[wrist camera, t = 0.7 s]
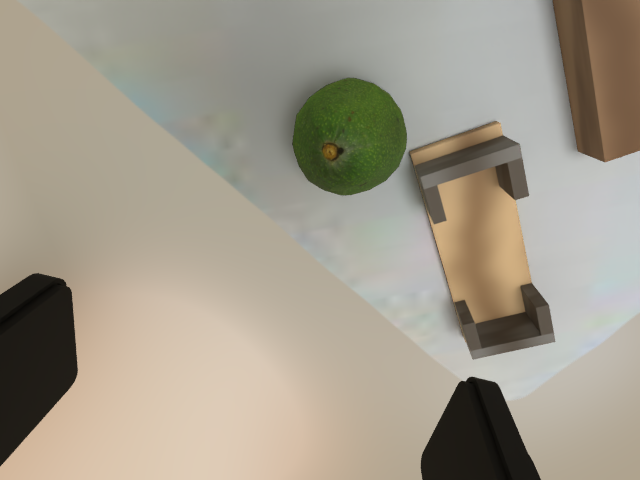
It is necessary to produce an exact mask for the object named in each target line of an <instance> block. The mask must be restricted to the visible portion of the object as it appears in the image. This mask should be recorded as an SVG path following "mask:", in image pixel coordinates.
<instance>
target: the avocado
mask: <svg viewBox="0 0 640 480" xmlns="http://www.w3.org/2000/svg"><path fill="white" fill-rule="evenodd" d="M406 143H407V133H406V127H405V123H404V119H403V115H402V112H401V110H400V108H399V107H398V106H397V104H396V103H395V101H394V100H393V98H392V97H391V96H390V94H389V93H387V92H386V91H384V90H383V89H381V88H380V87H378V86H377V85H375V84H373V83H370V82H367V81H363V80H360V79H356V78H346V79H342V80H339V81H337V82H334V83H331V84H328V85H326V86H325V87H323V88H322V89H320V90H319V91H318V92H316V93H315V94H313V95H312V96H311V97H309V99H308V100H307V102H306V103H305V104H304V106H303V107H302V108H301V110H300V111H299V113H298V114H297V116H296V122H295V128H294V136H293V143H292V145H293V148H294V153H295V156H296V159H297V162H298V165H299V167H300V168H301V170H302V172H303V173H304V175H305V176H306V178H307V179H308V181H310V182H311V183H313V184H315V185H316V186H318V187H319V188H321V189H323V190H325V191H328V192H332V193H335V194H339V195H353V194H356V193H360V192H363V191H367V190H370V189H372V188H374V187H375V186H377V185H379V184H381V183H382V182H384V181H386V180H387V179H388V178H389V177H390V175H391V174H392V173H393V172H394V171H395V170H396V169H397V168H398V167H399V164H400V162H401V159H402V157H403V154H404V152H405V149H406Z"/></svg>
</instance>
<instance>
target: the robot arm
mask: <svg viewBox="0 0 640 480" xmlns="http://www.w3.org/2000/svg"><path fill="white" fill-rule="evenodd" d="M77 371H78V368H77V355H76V343H75V330H74V316H73V303H72V292H71V289H70V288H69V287H67V286H66V282H65V281H64V280H63V279H60V278H56V277H51V276H47V275H43V274H39V273H37V274H32V275H30V276H28V277H27V278H25V279H24V280H22V281H21V282H19V283H18V284H16V285H15V286H13V287H11V288H10V289H8V290H7V291H5V292H4V293H2V294H1V295H0V466H1V465H2V464H3V463H4V462H5V461H6V459H7V458H8V457H9V456H10V455H11V454H12V453H13V452H14V450H15V449H16V448H17V447H18V446H19V445H20V444H21V442H22V441H23V440H24V439H25V438H26V437H27V436H28V435H29V434H30V432H31V431H32V430H33V429H34V428H35V427H36V426H37V425H38V423H39V422H40V421H41V420H42V419H43V417H45V415H46V414H47V413H48V412H49V411H50V410H51V409H52V408H53V407H54V405H55V404H56V403H57V402H58V401H59V400H60V399H61V397H62V396H63V395H64V394H65V393H66V392H67V391H68V390H69V388H70V387H71V386H72V384H73V383H74V381H75V379H76V376H77ZM421 473H422V479H423V480H541V479H540V477H539V474H538V472H537V470H536V467H535V465H534V463H533V461H532V459H531V458H530V456H529V455H528V453H527V450H526V448H525V446H524V443H523V441H522V439H521V436H520V435H519V432H518V429H517V427H516V425H515V422H514V420H513V418H512V415H511V413H510V411H509V408H508V406H507V404H506V401H505V399H504V397H503V394H502V392H501V390H500V387H499V386H498V384H497V383H495V382H492V381H488V380H484V379H479V378H475V377H469V378H468V379H467V380H466V382H465V381H461V382H459V384H458V386H457V387H456V389H455V391H454V393H453V395H452V397H451V399H450V401H449V403H448V405H447V407H446V409H445V411H444V413H443V415H442V417H441V419H440V420H439V422H438V424H437V426H436V428H435V430H434V432H433V434H432V436H431V438H430V440H429V442H428V444H427V446H426V448H425V450H424V452H423V454H422V458H421Z"/></svg>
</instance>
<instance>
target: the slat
mask: <svg viewBox="0 0 640 480" xmlns="http://www.w3.org/2000/svg"><path fill="white" fill-rule="evenodd" d="M553 6H554V12H555V18H556V24H557V30H558V36H559V42H560V48H561V54H562V59H563V65H564V71H565V77H566V83H567V89H568V95H569V101H570V107H571V113H572V119H573V125H574V131H575V137H576V143H577V149H578V152H581V153H583V154H586V155H588V156H591V157H593V158H596V159H598V160H600V161H603V162H607V161H610V160H613V159H616V158H619V157H622V156H625V155H628V154H631V153H634V152H637V151H640V0H553Z"/></svg>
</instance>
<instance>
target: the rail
mask: <svg viewBox="0 0 640 480" xmlns="http://www.w3.org/2000/svg"><path fill="white" fill-rule="evenodd" d="M410 155H411V158H412V162H413V165H414V169H415V172H416V176H417V179H418V182H419V186H420V189H421V193H422V196H423V200H424V203H425V206H426V210H427V213H428V217H429V220H430V224H431V227H432V230H433V234H434V237H435V241H436V244H437V248H438V251H439V254H440V258H441V261H442V265H443V268H444V272H445V275H446V279H447V282H448V285H449V289H450V292H451V296H452V299H453V303H454V306H455V309H456V313H457V316H458V320H459V323H460V327H461V330H462V333H463V337H464V339H465V342H466V343H467V345H468V348H469V351H470V353H471V356H472V359H477V358H482V357H487V356H491V355H496V354H501V353H505V352H510V351H515V350H519V349H524V348H529V347H533V346H538V345H543V344H547V343H552V342H555V337H554V331H553V326H552V320H551V315H550V309H549V305H548V303H547V302H546V301H545V299H544V298H543V297H542V296H541V294H540V293H539V292H538V290H537V289H536V288H535V287H534V285H533V284H532V282H531V277H530V272H529V267H528V262H527V257H526V252H525V246H524V241H523V236H522V231H521V226H520V221H519V216H518V211H517V205H516V200H517V199H520V198H524V197H527V196H529V193H528V187H527V182H526V176H525V171H524V165H523V160H522V154H521V148H520V144H519V143H517V142H515V141H513V140H511V139H509V138H507V137H505V136H503V134H502V129H501V124H500V123H499V122H497V121H495V122H492V123H489V124H487V125H484V126H481V127H478V128H475V129H472V130H469V131H467V132H464V133H461V134H458V135H455V136H452V137H449V138H447V139H444V140H441V141H438V142H435V143H432V144H429V145H427V146H424V147H421V148H418V149H415V150H412V151H410Z"/></svg>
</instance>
